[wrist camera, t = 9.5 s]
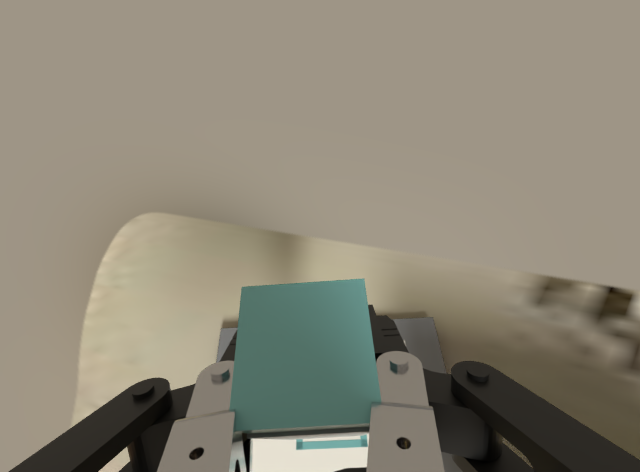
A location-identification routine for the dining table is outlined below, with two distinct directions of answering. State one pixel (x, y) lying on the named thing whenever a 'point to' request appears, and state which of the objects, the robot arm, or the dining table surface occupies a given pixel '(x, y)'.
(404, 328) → the mat
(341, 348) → the two-tone teal pillar
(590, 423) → the dining table surface
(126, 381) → the dining table surface
